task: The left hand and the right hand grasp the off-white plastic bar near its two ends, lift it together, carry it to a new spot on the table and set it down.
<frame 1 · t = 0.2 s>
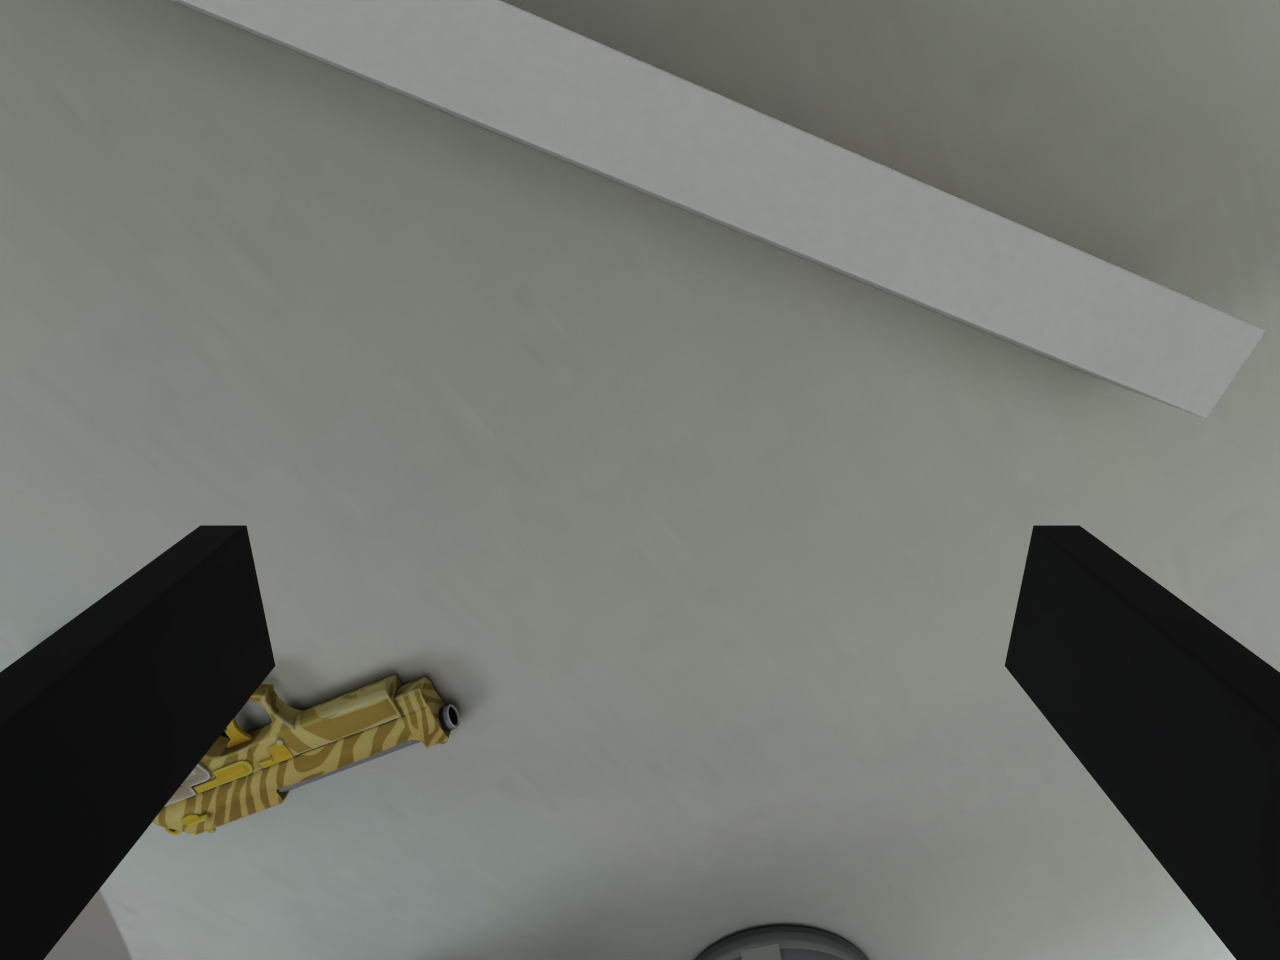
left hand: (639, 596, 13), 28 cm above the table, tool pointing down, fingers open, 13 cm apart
bar: (602, 126, 35), on the table
handgun: (252, 689, 46), on the table
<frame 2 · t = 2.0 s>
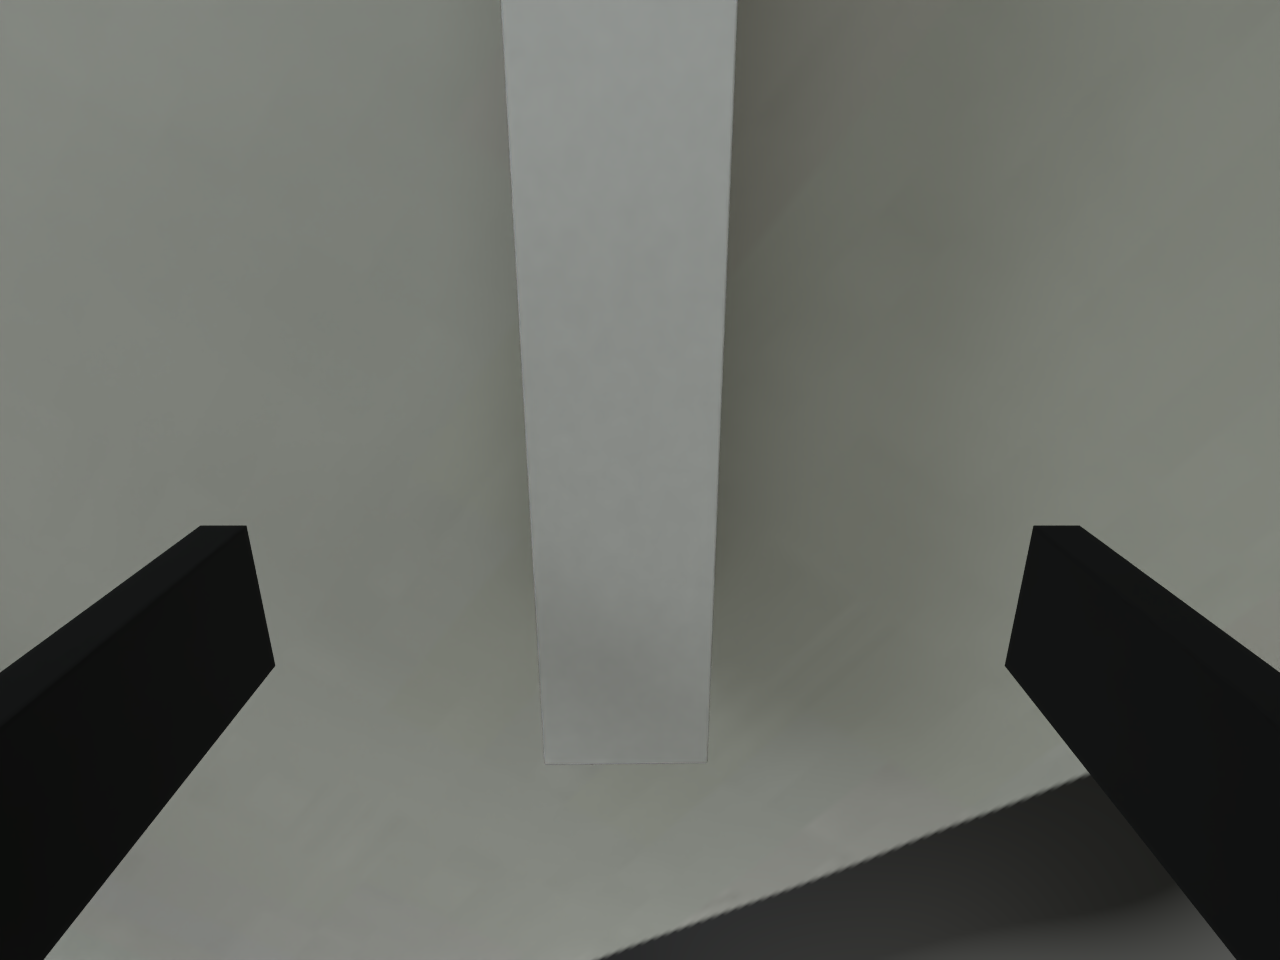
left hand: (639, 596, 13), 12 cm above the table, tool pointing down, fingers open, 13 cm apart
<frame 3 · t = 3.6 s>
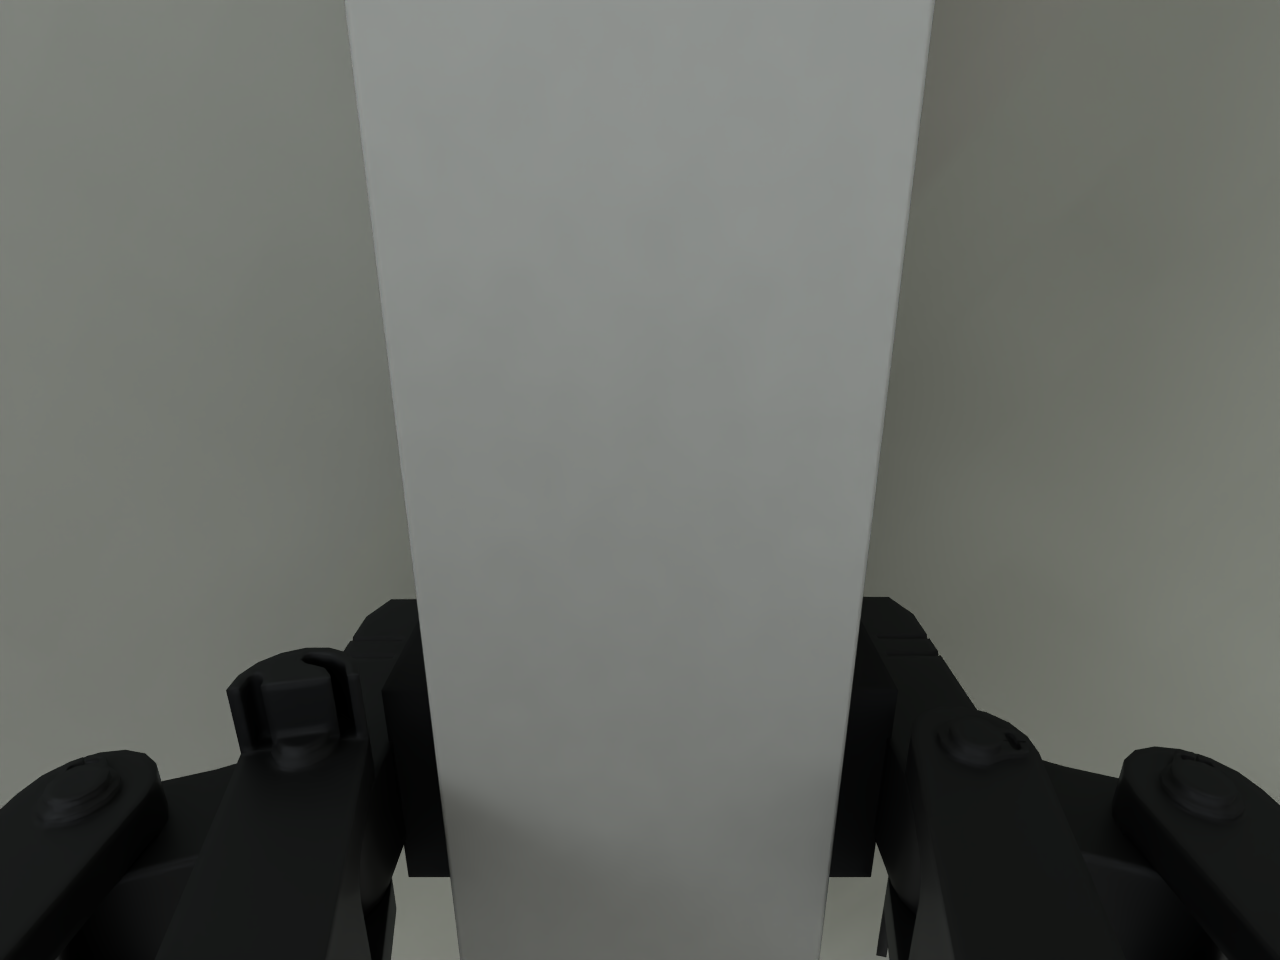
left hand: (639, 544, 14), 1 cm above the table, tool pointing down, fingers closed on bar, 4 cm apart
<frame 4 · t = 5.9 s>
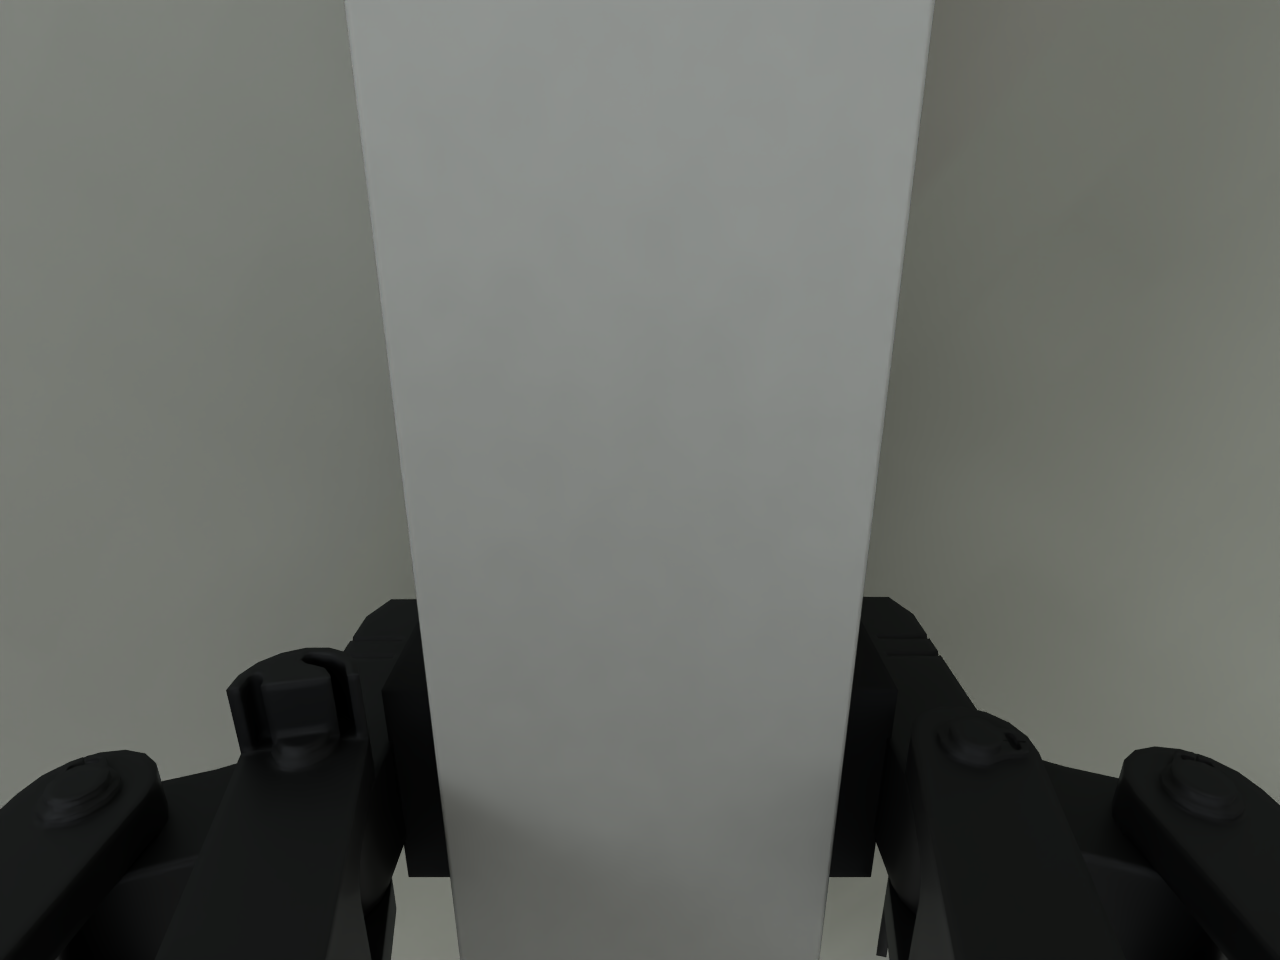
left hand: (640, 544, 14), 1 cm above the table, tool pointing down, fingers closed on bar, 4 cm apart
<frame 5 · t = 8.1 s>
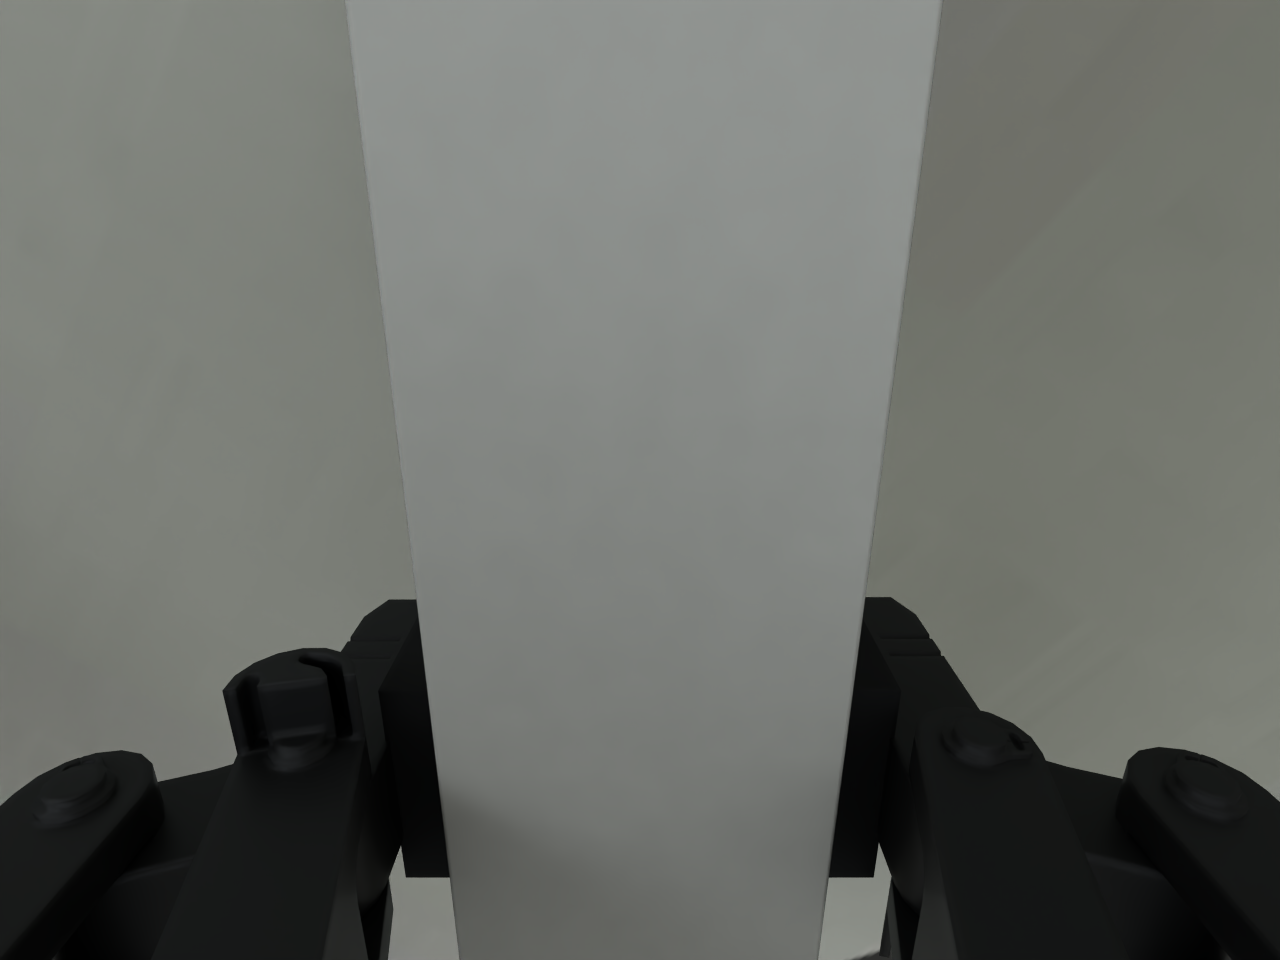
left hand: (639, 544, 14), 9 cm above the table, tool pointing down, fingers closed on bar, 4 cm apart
when the left hand's fingers open (2 cm above the table, at t = 9.9 s): bar drops 1 cm, on the table.
when the right hand's fingers open (4 cm above the table, at t = 10.1 s): bar stays where it is, on the table.
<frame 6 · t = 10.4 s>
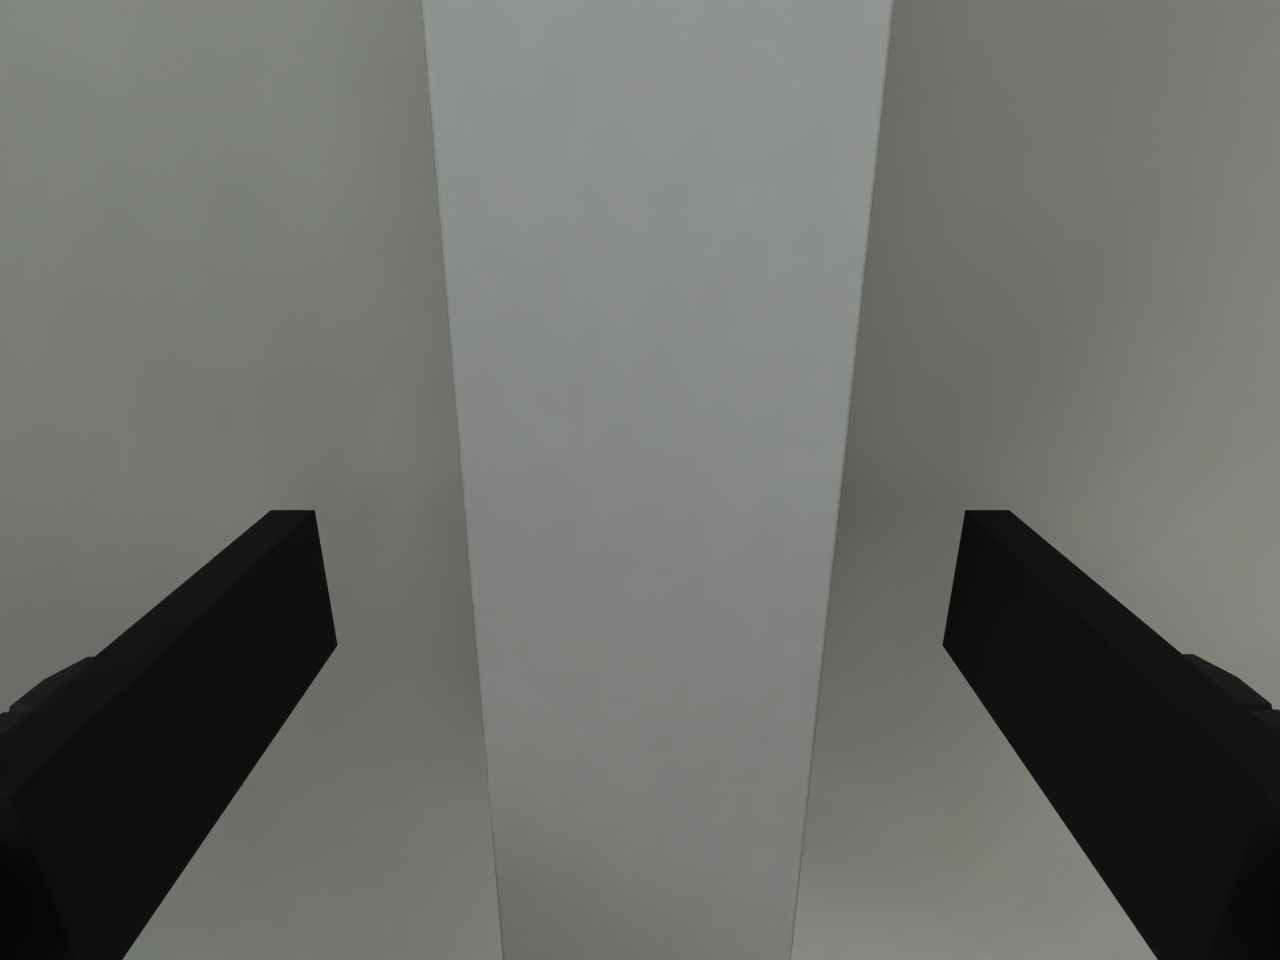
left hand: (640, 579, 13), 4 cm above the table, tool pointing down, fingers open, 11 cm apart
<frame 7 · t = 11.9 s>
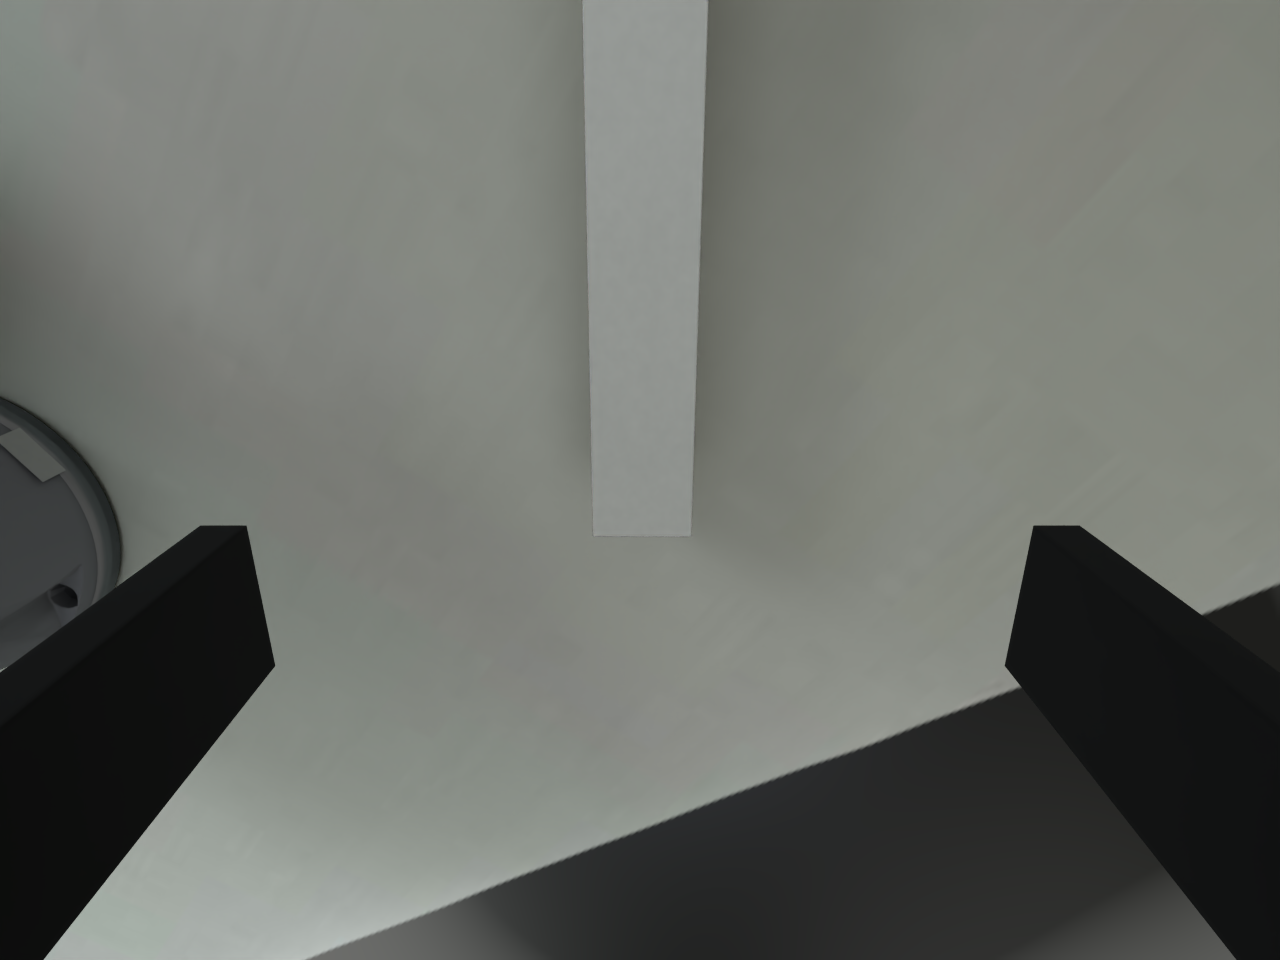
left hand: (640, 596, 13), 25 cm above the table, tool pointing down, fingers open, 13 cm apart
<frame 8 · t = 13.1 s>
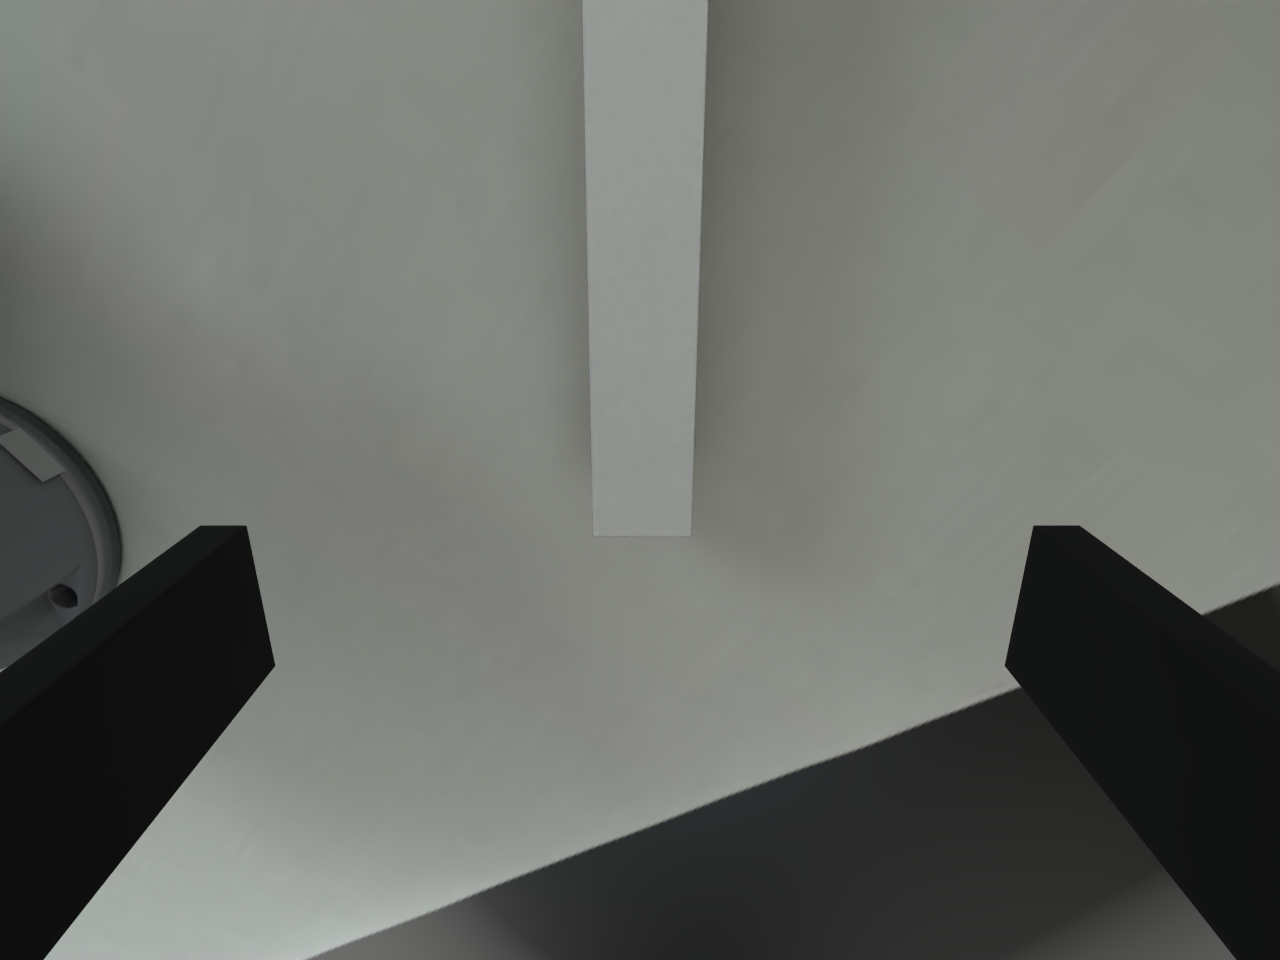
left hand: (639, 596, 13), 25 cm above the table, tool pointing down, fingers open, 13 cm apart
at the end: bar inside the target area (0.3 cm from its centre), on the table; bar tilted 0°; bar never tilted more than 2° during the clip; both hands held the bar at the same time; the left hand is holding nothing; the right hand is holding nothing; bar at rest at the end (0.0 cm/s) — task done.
